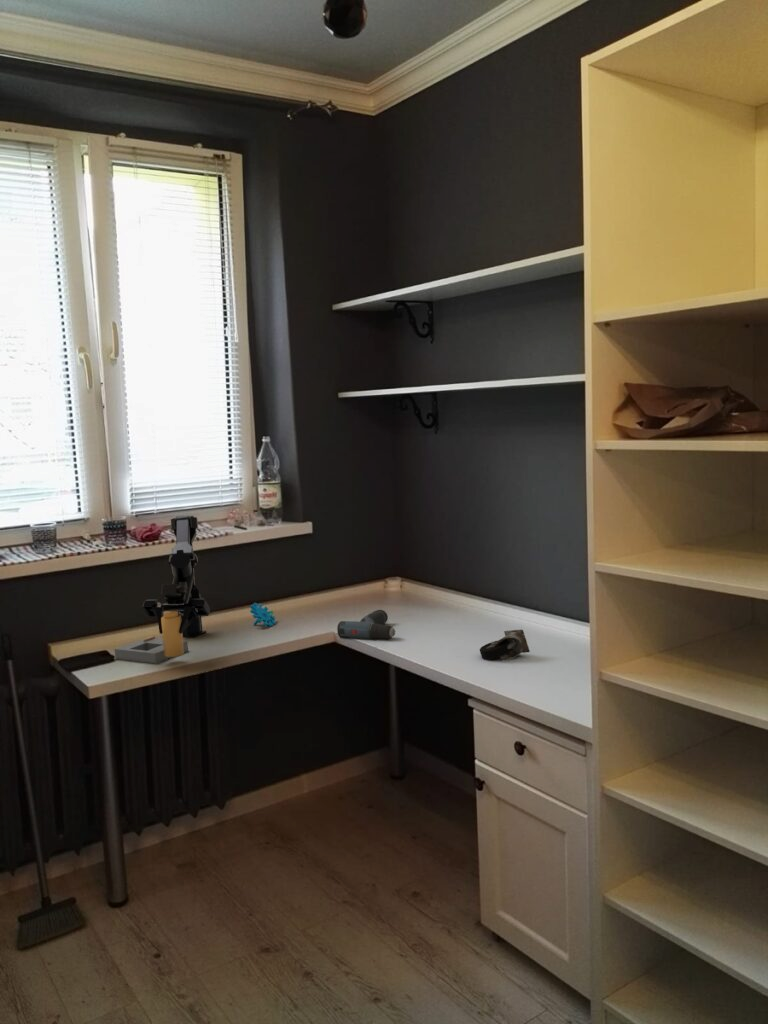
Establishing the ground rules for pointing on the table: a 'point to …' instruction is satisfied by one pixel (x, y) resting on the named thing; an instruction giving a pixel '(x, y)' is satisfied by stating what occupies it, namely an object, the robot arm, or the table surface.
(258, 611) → the gear
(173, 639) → the yellow cylinder
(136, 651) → the block
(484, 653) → the caster wheel
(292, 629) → the table surface
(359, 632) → the power drill
